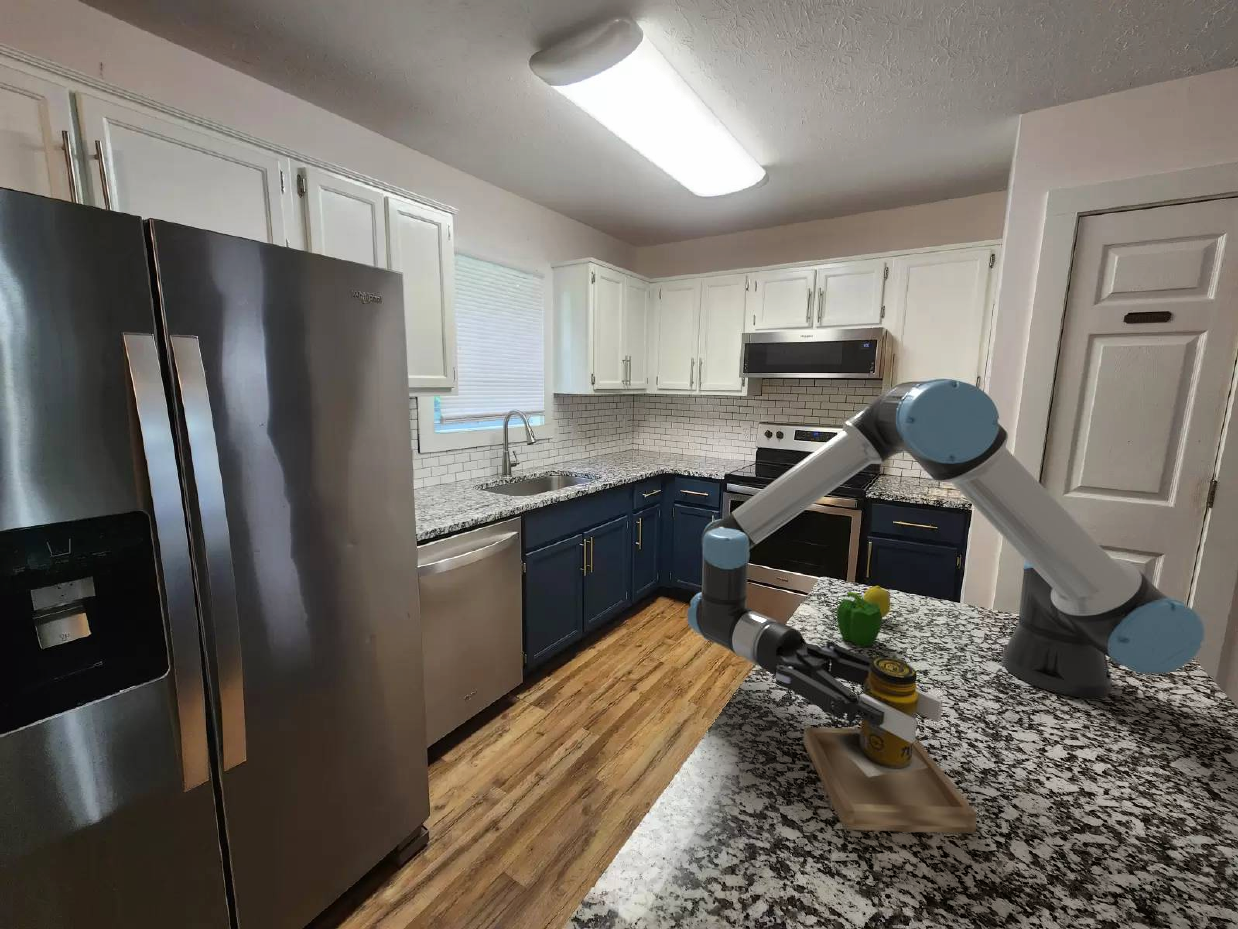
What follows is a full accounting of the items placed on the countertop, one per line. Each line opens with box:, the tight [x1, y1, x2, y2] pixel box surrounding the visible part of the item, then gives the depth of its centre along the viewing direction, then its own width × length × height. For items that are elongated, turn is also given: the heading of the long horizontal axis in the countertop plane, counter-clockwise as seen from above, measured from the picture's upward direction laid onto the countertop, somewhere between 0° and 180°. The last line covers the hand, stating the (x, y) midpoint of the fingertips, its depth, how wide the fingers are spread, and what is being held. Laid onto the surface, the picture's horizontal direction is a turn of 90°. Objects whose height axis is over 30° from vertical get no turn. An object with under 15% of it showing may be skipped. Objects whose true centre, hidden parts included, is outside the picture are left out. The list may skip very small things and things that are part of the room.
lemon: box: [862, 585, 891, 619], centre depth 116 cm, size 6×6×8 cm
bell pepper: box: [836, 591, 883, 647], centre depth 106 cm, size 8×8×10 cm
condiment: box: [832, 656, 928, 777], centre depth 65 cm, size 7×8×12 cm
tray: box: [802, 726, 978, 835], centre depth 67 cm, size 15×15×2 cm
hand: (927, 721), depth 62 cm, fingers closed on condiment, 6 cm apart
